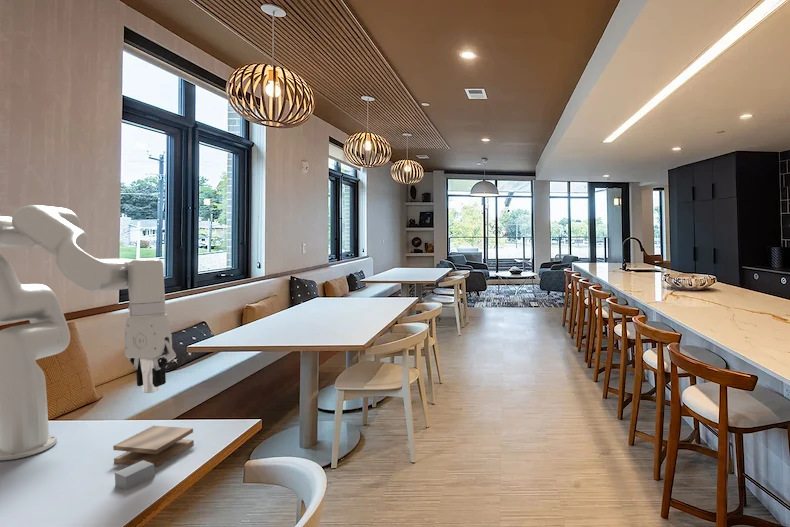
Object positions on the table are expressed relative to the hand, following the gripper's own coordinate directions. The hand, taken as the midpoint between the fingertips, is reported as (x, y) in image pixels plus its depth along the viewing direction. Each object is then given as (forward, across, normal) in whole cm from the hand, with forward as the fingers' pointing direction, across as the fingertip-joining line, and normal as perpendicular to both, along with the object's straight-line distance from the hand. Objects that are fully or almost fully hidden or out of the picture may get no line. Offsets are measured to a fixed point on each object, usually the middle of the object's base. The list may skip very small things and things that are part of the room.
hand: (151, 384), depth 105 cm
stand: (+17, 0, 0) cm, 17 cm away
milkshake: (+2, 0, 0) cm, 2 cm away
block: (+17, +6, -12) cm, 22 cm away
